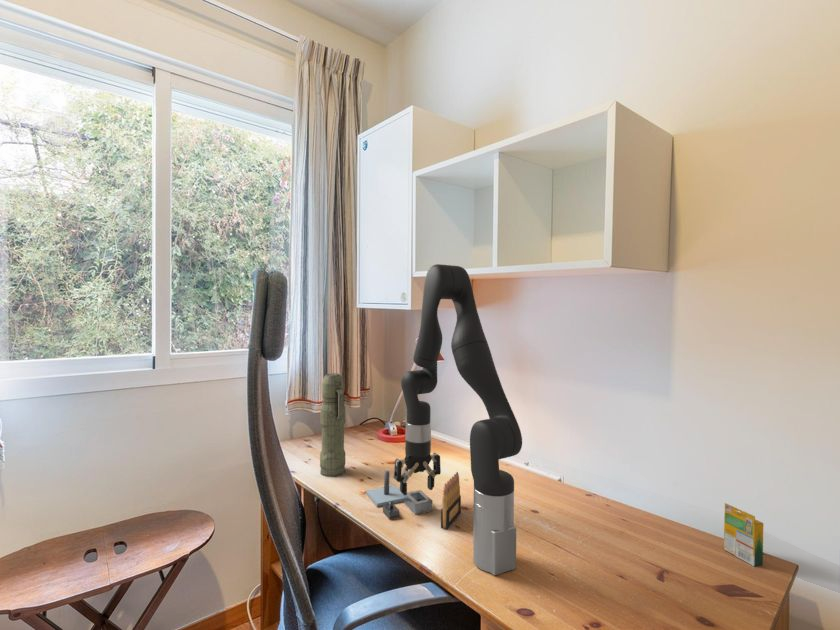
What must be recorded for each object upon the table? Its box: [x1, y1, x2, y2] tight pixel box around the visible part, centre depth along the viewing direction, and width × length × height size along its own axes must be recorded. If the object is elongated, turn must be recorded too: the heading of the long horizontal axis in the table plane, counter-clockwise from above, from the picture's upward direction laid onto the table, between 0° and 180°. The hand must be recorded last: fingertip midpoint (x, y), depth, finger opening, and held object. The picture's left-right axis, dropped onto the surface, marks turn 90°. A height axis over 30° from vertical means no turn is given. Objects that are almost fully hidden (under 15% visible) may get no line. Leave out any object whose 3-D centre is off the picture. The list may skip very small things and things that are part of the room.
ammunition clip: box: [440, 471, 462, 530], centre depth 118 cm, size 11×2×12 cm, turn 154°
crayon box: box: [723, 502, 764, 567], centre depth 101 cm, size 7×3×12 cm, turn 17°
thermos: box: [319, 373, 346, 478], centre depth 151 cm, size 9×12×35 cm
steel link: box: [403, 489, 433, 515], centre depth 125 cm, size 8×6×3 cm
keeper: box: [365, 470, 404, 508], centre depth 132 cm, size 10×10×8 cm
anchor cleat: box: [382, 501, 400, 520], centre depth 120 cm, size 5×3×4 cm, turn 26°
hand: (417, 491), depth 126 cm, fingers open, 8 cm apart
